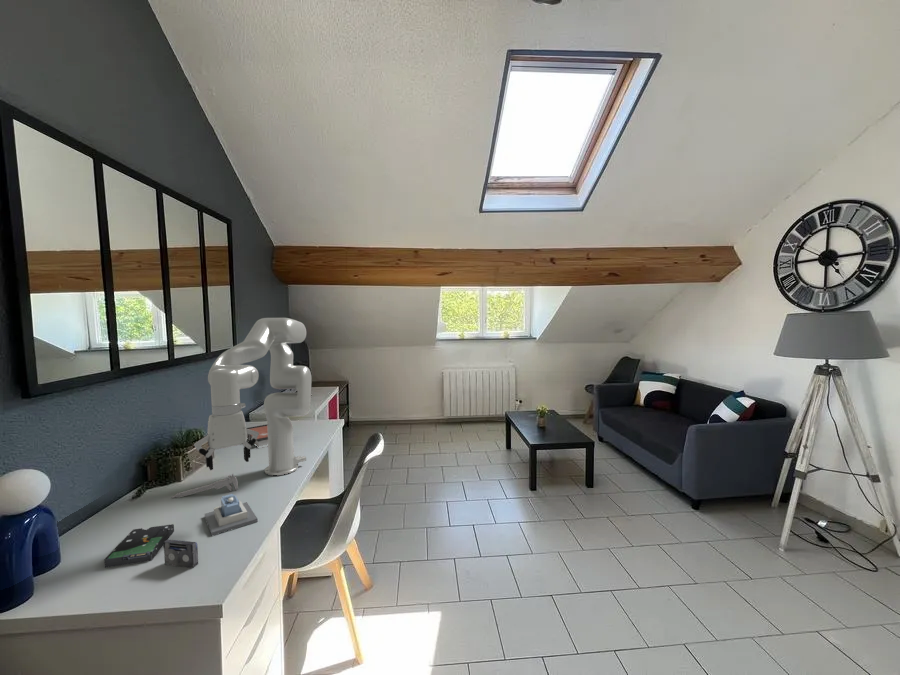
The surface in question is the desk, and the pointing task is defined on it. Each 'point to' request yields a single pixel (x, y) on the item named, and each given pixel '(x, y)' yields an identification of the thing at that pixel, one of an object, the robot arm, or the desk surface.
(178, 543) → the mini dv tape
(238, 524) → the plate
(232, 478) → the caliper
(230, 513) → the servo block
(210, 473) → the desk surface
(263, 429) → the book
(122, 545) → the disk drive
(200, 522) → the desk surface
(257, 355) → the robot arm
